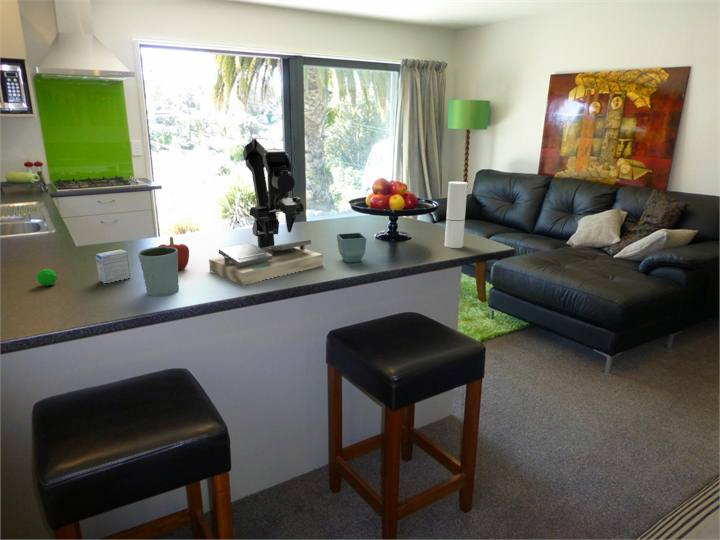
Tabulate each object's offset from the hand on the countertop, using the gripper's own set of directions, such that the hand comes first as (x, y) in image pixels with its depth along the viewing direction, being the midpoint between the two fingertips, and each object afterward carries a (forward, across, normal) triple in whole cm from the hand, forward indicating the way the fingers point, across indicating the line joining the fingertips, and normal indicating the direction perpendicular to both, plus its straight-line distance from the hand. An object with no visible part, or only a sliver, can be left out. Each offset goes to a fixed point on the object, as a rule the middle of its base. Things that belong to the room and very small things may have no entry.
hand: (278, 234), depth 167 cm
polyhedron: (+10, -65, +25) cm, 70 cm away
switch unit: (+10, -8, -4) cm, 13 cm away
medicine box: (+10, -49, +17) cm, 53 cm away
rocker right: (+3, 0, -4) cm, 5 cm away
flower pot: (+10, +19, -16) cm, 27 cm away
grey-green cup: (+10, -43, -3) cm, 44 cm away
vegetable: (+10, -31, +16) cm, 36 cm away
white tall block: (+10, +64, -28) cm, 71 cm away
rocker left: (+3, -16, -4) cm, 17 cm away
